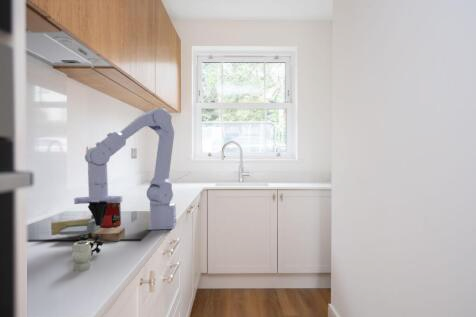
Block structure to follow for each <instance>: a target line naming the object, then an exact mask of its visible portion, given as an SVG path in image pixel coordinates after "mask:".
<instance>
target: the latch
mask: <svg viewBox="0 0 476 317" xmlns="http://www.w3.org/2000/svg"><path fill="white" fill-rule="evenodd" d="M92 219H94V217H93V215H90V217H89V218H78V219H69V220H60V221H58V220H57V221H52V222H50V228H51V229H50V230H51V232H50V233H51V236H56V235H57V236H58V235H60V231H62V230H64V229H66V228H68V227H69V226H87V222H89V221H91V220H92Z"/></svg>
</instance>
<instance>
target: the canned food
mask: <svg viewBox="0 0 476 317" xmlns="http://www.w3.org/2000/svg"><path fill="white" fill-rule="evenodd" d="M121 209H122V208H121V203H109V206H108V208H107V210H106V212H105V215H104V219H103V224H102V225H101V226H100V228H111V227H114V228H118V227H120V226H121V223H122V219H121V218H122V212H121ZM117 226H118V227H117Z"/></svg>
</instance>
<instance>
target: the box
mask: <svg viewBox="0 0 476 317" xmlns="http://www.w3.org/2000/svg"><path fill="white" fill-rule="evenodd" d="M96 235H100V238H99V239H98V241H99V242H100V241H103V243H104V242H105V243H108V242H120V241H121V240H122V239H123V238H124V237H125V236H124V235H126V227H114V228H101V227H100V229H98V230H97V231H96V232H94V233H93V234H92V236H93V237H95V236H96ZM123 236H124V237H123ZM85 237H88V234H85ZM122 237H123V238H122ZM86 241H92V242H94V241H95V240H94V239H87V240H86Z"/></svg>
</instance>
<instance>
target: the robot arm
mask: <svg viewBox="0 0 476 317" xmlns="http://www.w3.org/2000/svg"><path fill="white" fill-rule="evenodd" d="M172 117H173V116H172V115H171V113H170V112H169V111H168V110H167V109H165V108H163V107H158V108H156V109H151V110H146V111H145V112H144V113H142V114H140V115H138V117H136V118H135V119H133V121H131V122H130V123H129V124H128V125H127V126H126V127H124V128H123V129H122V130H120V131H119V132H118V131H113V132H108V133H107V134H106V137H105V138H104V139H102V140H101V141H97V142H96V143H95V146H94V147H90V148H88V149H87V151H86V153H85V155H84V160H85V161H86V163H87V178H88V179H87V182H88V185H87V186H88V196H82V197H81V196H78V197H75V198H74V199H73V201H74V203H73V204H74V205H81V204H84V205H85V204H88V205H87V208H88V209H89V211H90V213H91V214H92V215H93V217H94V219H95V222H96V226H101V225H102V224H103V219H104V215H105V212H106V210H107V208H108V206H109V203H120V204H121V203H123V195H109V188H108V186H109V183H108V180H109V179H108V162H109V161H110V158H111V157H112V156H114V155H115V154H116V153H117V152H118V151H120V150H121V149H122V148H123V147H125V146H126V143H127V139H129V138H130V137H132V136H134V135H135V134H136V133H137V132H139V131H140V130H142V129H143V128H144V127H148V128H149V129H151V130H153V131H154V132H155V133H156V134H157V135H158V143H157V150H156V151H157V152H156V160H155V166H154V175H153V178H152V179H151V181H150V182H149V183H150V184H149V187H148V188H147V190H146V197H147V199H148V200H149V216H150V217H149V220H150V222H149V223H150V224H149V226H148V227H147V230H148V231H149V230H151V231H152V230H174V229H175V227H176V226H177V206H176V203H173V202H171V201H172V200H173V196H174V192H173V190H172V189H173V188H172V187H173V184H172V182H171V180H170V171H171V162H172V154H173V148H174V141H175V140H174V138H175V130H174V127H173V126H174V125H173V123H172ZM92 215H91V216H92Z"/></svg>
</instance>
